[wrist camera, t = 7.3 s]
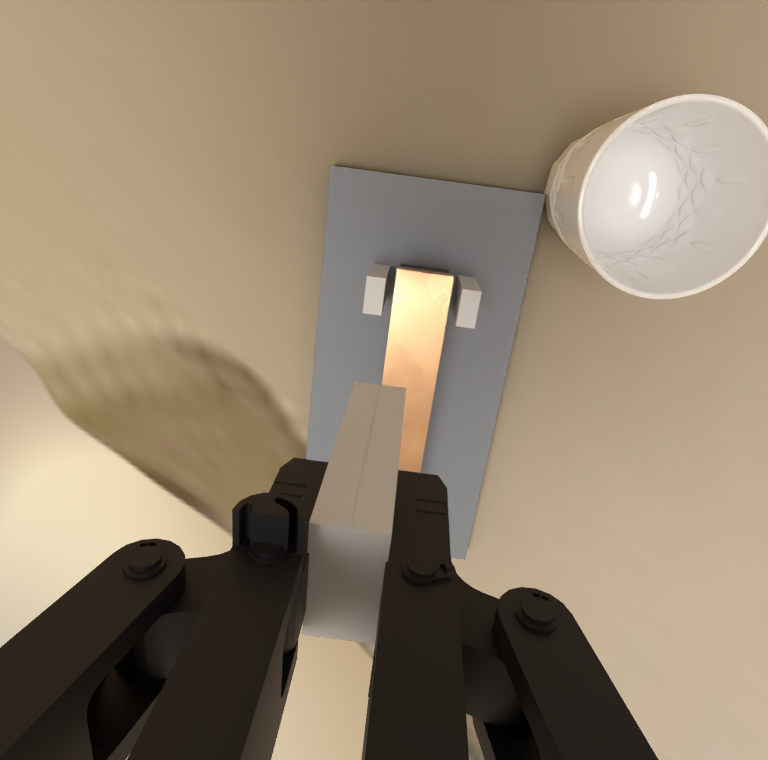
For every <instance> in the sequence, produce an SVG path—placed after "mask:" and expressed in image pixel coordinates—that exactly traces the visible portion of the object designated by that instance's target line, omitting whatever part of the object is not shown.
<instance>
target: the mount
mask: <svg viewBox="0 0 768 760" xmlns="http://www.w3.org/2000/svg"><path fill="white" fill-rule="evenodd" d="M545 197H546V194H541V193H534V192H527V191H519V190H512V189H505V188H497V187H490V186H482V185H475V184H467V183H460V182H452V181H445V180H438V179H430V178H423V177H415V176H408V175H400V174H393V173H385V172H378V171H371V170H363V169H356V168H348V167H341V166H330V176H329V188H328V200H327V212H326V224H325V236H324V249H323V261H322V273H321V285H320V297H319V309H318V321H317V333H316V345H315V358H314V370H313V382H312V394H311V406H310V418H309V430H308V442H307V454H306V459H308V460H315V461H323V462H329V460H330V457H331V453H332V450H333V447H334V444H335V441H336V438H337V435H338V432H339V429H340V426H341V423H342V419H343V416H344V413H345V410H346V407H347V404H348V401H349V398H350V395H351V392H352V389H353V385H354V382H355V381H356V382H363V383H371V384H379V385H382V379H383V371H384V364H385V356H386V349H387V341H388V334H389V326H390V319H391V311H392V303H393V296H394V288H395V281H396V273H397V267H398V266H400V267H407V268H415V269H422V270H429V271H436V272H444V273H451V274H454V281H453V286H452V292H451V298H450V304H449V309H448V315H447V321H446V327H445V333H444V338H443V344H442V350H441V356H440V362H439V367H438V373H437V379H436V385H435V391H434V396H433V402H432V408H431V414H430V419H429V425H428V431H427V437H426V443H425V448H424V454H423V460H422V466H421V472H420V473H425V474H433V475H438V476H439V477H440V479H441V480H442V482H443V483H444V484H445V486H446V487H447V493H448V512H449V514H448V517H449V532H450V551H451V558H458V559H465V558H466V554H467V549H468V545H469V540H470V536H471V531H472V527H473V522H474V518H475V513H476V509H477V504H478V500H479V495H480V491H481V486H482V482H483V477H484V473H485V468H486V464H487V459H488V455H489V450H490V446H491V441H492V437H493V432H494V427H495V423H496V418H497V414H498V409H499V405H500V400H501V396H502V391H503V387H504V382H505V378H506V373H507V369H508V364H509V360H510V355H511V351H512V346H513V342H514V337H515V333H516V328H517V324H518V319H519V315H520V310H521V305H522V301H523V296H524V292H525V287H526V283H527V278H528V274H529V269H530V265H531V260H532V256H533V251H534V247H535V242H536V238H537V233H538V229H539V224H540V220H541V215H542V211H543V206H544V202H545Z"/></svg>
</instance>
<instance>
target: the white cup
mask: <svg viewBox="0 0 768 760" xmlns="http://www.w3.org/2000/svg"><path fill="white" fill-rule="evenodd" d="M544 194H546V197H545V205H546V212H547V219H548V221H549V223H550V224H551V226H552V227H553V228H554V230H555V231H556V233H557V234H558V235H559V237H560V238H561V240H562V241H563V242H564V243H565V244H566V245H567V246H568V247H569V248H570V249H571V250H572V251H573V252H574V253H575V254H576V255H577V256H578V257H579V258H580V259H581V260H582V261H584V262H585V263H586V264H587V265H589V266H590V267H591V268H592V269H593V270H595V271H596V272H597V273H598V274H600V275H601V276H602V277H603V278H604V279H605V280H607V281H608V282H609V283H611V284H612V285H613V286H615V287H617V288H618V289H620V290H622V291H624V292H627V293H629V294H632V295H635V296H639V297H643V298H649V299H674V298H681V297H685V296H689V295H693V294H696V293H699V292H702V291H704V290H706V289H709V288H711V287H713V286H715V285H716V284H718V283H720V282H722V281H723V280H725V279H726V278H728V277H729V276H731V275H732V274H733V273H734V272H736V271H737V270H738V269H739V268H740V267H741V266H743V265H744V264H745V263H746V262H747V261H748V260H749V259H750V257H751V256H752V255H753V254H754V253H755V252H756V250H757V249H758V248H759V246H760V245H761V244H762V242H763V241H764V239H765V237H766V236H767V234H768V128H767V126H766V125H765V124H764V122H763V121H762V120H761V119H760V118H759V117H758V116H757V115H756V114H755V113H753V112H752V111H751V110H749V109H748V108H747V107H745V106H743V105H742V104H740V103H738V102H736V101H733V100H731V99H728V98H725V97H721V96H717V95H711V94H686V95H680V96H675V97H671V98H667V99H664V100H661V101H659V102H656V103H654V104H651V105H649V106H646V107H644V108H641V109H639V110H636V111H633V112H631V113H628V114H626V115H623V116H621V117H618V118H616V119H614V120H612V121H610V122H608V123H605V124H604V125H602V126H599V127H597V128H596V129H594V130H592V131H591V132H589V133H588V134H587V135H585V136H583V137H581V138H579V139H577V140H575V141H573V142H572V143H571V144H570V145H569V146H568V147H567V148H566V150H565V151H564V152H563V153H562V155H561V156H560V157H559V158H558V159H557V161H556V162H555V163H554V164H553V165H552V168H551V171H550V175H549V178H548V181H547V185H546V188H545V191H544Z"/></svg>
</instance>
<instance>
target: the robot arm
mask: <svg viewBox="0 0 768 760" xmlns="http://www.w3.org/2000/svg"><path fill="white" fill-rule="evenodd" d="M405 395H406V388H403V387H395V386H387V385H379V384H371V383H363V382H356V381H355V382H354V385H353V389H352V392H351V395H350V398H349V401H348V404H347V407H346V410H345V413H344V416H343V419H342V423H341V426H340V429H339V432H338V435H337V438H336V441H335V444H334V447H333V450H332V453H331V457H330V460H329V462H323V461H315V460H308V459H300V458H293V459H292V460H290V461H289V462H288V463H286V464H285V465H284V466H282V467H281V468H280V470H279V472H278V474H277V477H276V479H275V481H274V483H273V485H272V487H271V489H270V491H269V493H261V494H256V495H251V496H249V497H247V498H245V499H243V500H241V501H240V502H239V503H238V504H237V505H236V506H235V507H234V508H233V509H232V514H233V546H232V548H231V550H230V551H228V552H225V553H222V554H219V555H214V556H209V557H199V558H189V559H185V554H184V553H183V551H182V549H181V548H180V546H178V545H176V544H174V543H173V542H171V541H167V540H161V539H148V540H140V541H137V542H134V543H131V544H128V545H125V546H124V547H122V548H121V549H119V550H117V551H116V552H115V553H113V554H112V555H110V556H109V557H108V558H107V559H106V560H104V561H103V562H102V563H101V564H100V565H99V566H97V567H96V568H95V569H94V570H93V571H91V572H90V573H89V574H88V575H87V576H85V577H84V578H83V579H82V580H81V581H79V583H77V584H76V585H75V586H73V587H72V588H71V589H70V590H69V591H67V592H66V593H65V594H64V595H63V596H62V597H60V598H59V599H58V600H57V601H56V602H54V603H53V604H52V605H51V606H50V607H48V608H47V609H46V610H45V611H44V612H42V613H41V614H40V615H39V616H38V617H36V618H35V619H34V620H33V621H32V622H30V623H29V624H28V625H27V626H26V627H25V628H23V629H22V630H21V631H20V632H19V633H17V634H16V635H15V636H14V637H13V638H11V639H10V640H9V641H8V642H7V643H6V644H4V645H3V646H2V647H1V648H0V760H126V758H127V757H128V756H129V757H128V759H127V760H271V757H272V753H273V749H274V746H275V742H276V738H277V734H278V730H279V726H280V722H281V718H282V714H283V711H284V707H285V703H286V699H287V695H288V691H289V687H290V683H291V680H292V676H293V672H294V668H295V664H296V660H297V649H298V637H299V634H300V630H301V626H302V623H303V628H302V634H304V635H311V636H318V637H326V638H333V639H339V640H347V641H353V642H360V643H367V644H374V645H375V650H374V657H373V665H372V672H371V680H370V687H369V694H368V697H369V699H368V708H367V718H366V725H365V735H364V743H363V752H362V760H469V756H468V740H467V724H466V713H467V714H469V715H471V716H472V717H473V724H474V728H475V731H476V734H477V737H478V740H479V743H480V747H481V750H482V753H483V756H484V759H485V760H658V758H657V757H656V755H655V753H654V752H653V750H652V748H651V747H650V745H649V743H648V742H647V740H646V738H645V736H644V735H643V733H642V731H641V730H640V728H639V726H638V725H637V723H636V721H635V720H634V718H633V716H632V715H631V713H630V711H629V709H628V708H627V706H626V704H625V703H624V701H623V699H622V698H621V696H620V694H619V693H618V691H617V689H616V688H615V686H614V684H613V683H612V681H611V679H610V677H609V676H608V674H607V672H606V671H605V669H604V667H603V666H602V664H601V662H600V661H599V659H598V657H597V656H596V654H595V652H594V651H593V649H592V647H591V645H590V644H589V642H588V640H587V639H586V637H585V635H584V634H583V632H582V630H581V629H580V627H579V625H578V624H577V622H576V620H575V618H574V617H573V615H572V614H571V612H570V611H569V610H568V609H567V608H566V606H565V605H564V604H563V603H562V602H560V601H559V600H558V599H556V598H555V597H553V596H552V595H550V594H548V593H545V592H543V591H540V590H538V589H533V588H524V587H520V588H515V589H511V590H508V591H507V592H506V593H504V594H503V595H502V596H501V597H500V599H497V598H495V597H492V596H490V595H487V594H485V593H482V592H480V591H478V590H476V589H474V588H472V587H471V586H469V585H468V584H467V583H465V582H464V581H463V580H462V579H461V578H460V577H459V576H458V575H457V573H456V570H455V567H454V566H453V564H452V562H451V551H450V532H449V517H448V514H449V512H448V493H447V487H446V486H445V484H444V483H443V482H442V480H441V479H440V477H439V476H438V475H433V474H425V473H418V472H410V471H403V470H398V466H399V456H400V446H401V436H402V426H403V416H404V406H405ZM129 754H130V755H129Z"/></svg>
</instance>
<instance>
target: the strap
mask: <svg viewBox="0 0 768 760" xmlns="http://www.w3.org/2000/svg"><path fill="white" fill-rule="evenodd" d="M453 281H454V274H451V273H444V272H436V271H429V270H422V269H415V268H407V267H400V266H398V267H397V273H396V281H395V288H394V296H393V303H392V311H391V319H390V326H389V334H388V341H387V349H386V356H385V364H384V371H383V379H382V385H387V386H395V387H403V388H406V395H405V406H404V416H403V426H402V436H401V446H400V456H399V466H398V470H403V471H410V472H418V473H420V472H421V466H422V460H423V454H424V448H425V443H426V437H427V431H428V425H429V419H430V414H431V408H432V402H433V396H434V391H435V385H436V379H437V373H438V367H439V362H440V356H441V350H442V344H443V338H444V333H445V327H446V321H447V315H448V309H449V304H450V298H451V292H452V286H453Z"/></svg>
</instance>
